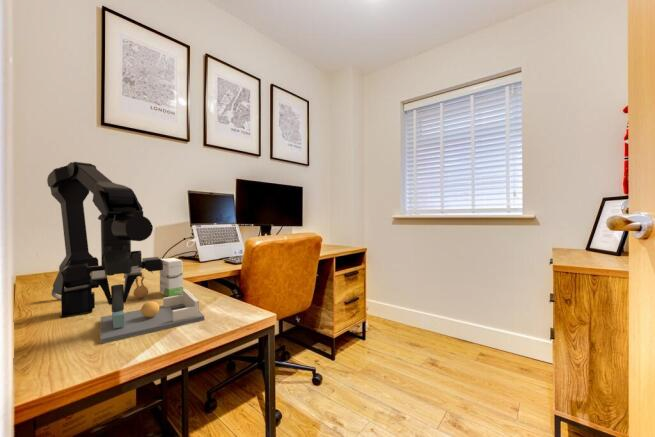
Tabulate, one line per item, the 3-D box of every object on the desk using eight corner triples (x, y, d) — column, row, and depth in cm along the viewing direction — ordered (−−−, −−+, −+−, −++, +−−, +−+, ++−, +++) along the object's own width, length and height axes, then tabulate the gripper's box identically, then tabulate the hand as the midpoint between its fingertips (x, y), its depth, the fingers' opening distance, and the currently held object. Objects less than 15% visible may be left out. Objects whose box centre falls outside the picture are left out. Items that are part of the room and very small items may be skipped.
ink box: (183, 294, 95) (183, 259, 95) (168, 297, 92) (167, 261, 91) (174, 289, 101) (174, 257, 101) (159, 292, 97) (158, 258, 97)
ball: (142, 321, 69) (141, 305, 69) (140, 316, 72) (140, 301, 72) (160, 317, 72) (160, 302, 72) (158, 313, 75) (157, 298, 75)
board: (100, 343, 60) (100, 339, 60) (100, 320, 72) (100, 317, 72) (204, 319, 73) (204, 316, 73) (189, 303, 85) (189, 300, 85)
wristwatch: (49, 301, 88) (49, 285, 88) (56, 298, 90) (55, 283, 90) (72, 300, 89) (72, 284, 89) (78, 297, 92) (77, 282, 91)
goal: (173, 321, 69) (173, 305, 69) (163, 306, 80) (163, 292, 80) (199, 315, 73) (198, 300, 73) (186, 302, 84) (186, 289, 84)
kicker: (112, 329, 64) (111, 290, 64) (111, 318, 70) (110, 283, 70) (125, 326, 66) (124, 288, 65) (123, 316, 72) (122, 281, 72)
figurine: (128, 302, 86) (128, 264, 86) (121, 299, 90) (120, 261, 90) (157, 296, 93) (157, 260, 93) (149, 292, 97) (149, 258, 96)
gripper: (59, 245, 55) (61, 323, 56) (166, 239, 67) (167, 303, 68) (64, 240, 64) (66, 308, 64) (158, 236, 76) (159, 293, 76)
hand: (117, 303), depth 68 cm, fingers closed on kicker, 2 cm apart
